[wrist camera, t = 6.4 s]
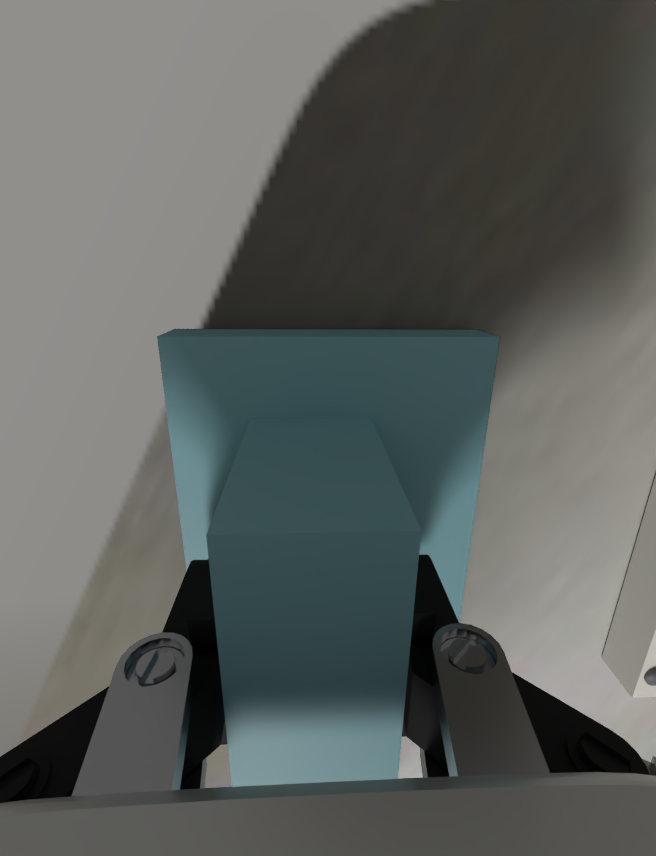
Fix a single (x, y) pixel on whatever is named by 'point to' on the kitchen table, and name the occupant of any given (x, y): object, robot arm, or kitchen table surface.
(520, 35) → the kitchen table surface
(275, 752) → the stub
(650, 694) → the white notebook
